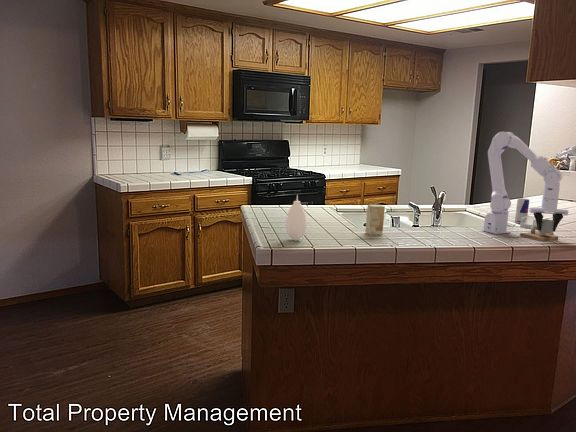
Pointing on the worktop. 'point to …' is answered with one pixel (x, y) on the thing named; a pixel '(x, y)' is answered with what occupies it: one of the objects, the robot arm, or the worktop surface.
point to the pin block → (537, 235)
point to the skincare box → (375, 219)
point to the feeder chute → (528, 222)
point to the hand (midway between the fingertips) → (546, 230)
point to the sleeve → (547, 227)
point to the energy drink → (521, 209)
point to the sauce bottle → (296, 221)
